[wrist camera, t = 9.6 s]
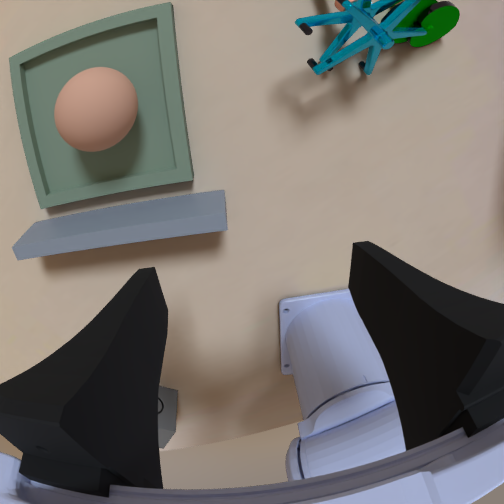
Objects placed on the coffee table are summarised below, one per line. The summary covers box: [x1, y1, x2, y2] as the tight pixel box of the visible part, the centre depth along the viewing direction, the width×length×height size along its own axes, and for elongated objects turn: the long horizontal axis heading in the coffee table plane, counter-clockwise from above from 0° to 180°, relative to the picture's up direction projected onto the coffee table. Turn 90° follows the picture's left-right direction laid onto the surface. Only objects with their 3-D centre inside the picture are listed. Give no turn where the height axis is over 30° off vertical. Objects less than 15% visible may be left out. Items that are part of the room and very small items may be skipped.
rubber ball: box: [54, 67, 138, 152], centre depth 13 cm, size 4×4×4 cm
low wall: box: [12, 190, 228, 260], centre depth 18 cm, size 1×14×4 cm, turn 95°
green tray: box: [9, 2, 194, 209], centre depth 15 cm, size 11×11×1 cm
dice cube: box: [158, 386, 178, 449], centre depth 28 cm, size 5×5×5 cm
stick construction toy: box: [295, 0, 460, 75], centre depth 12 cm, size 12×7×8 cm
